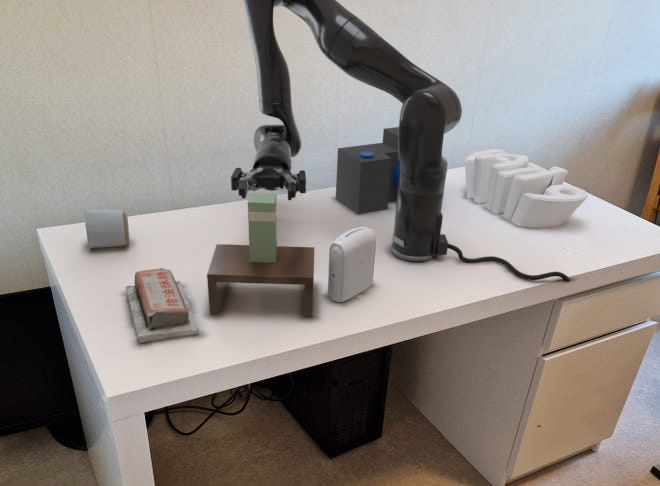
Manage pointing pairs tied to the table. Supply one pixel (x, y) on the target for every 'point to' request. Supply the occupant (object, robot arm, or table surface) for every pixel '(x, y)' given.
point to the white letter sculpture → (521, 189)
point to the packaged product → (159, 306)
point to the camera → (369, 174)
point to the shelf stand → (260, 272)
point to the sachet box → (262, 227)
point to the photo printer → (351, 263)
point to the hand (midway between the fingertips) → (266, 194)
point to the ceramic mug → (106, 228)
